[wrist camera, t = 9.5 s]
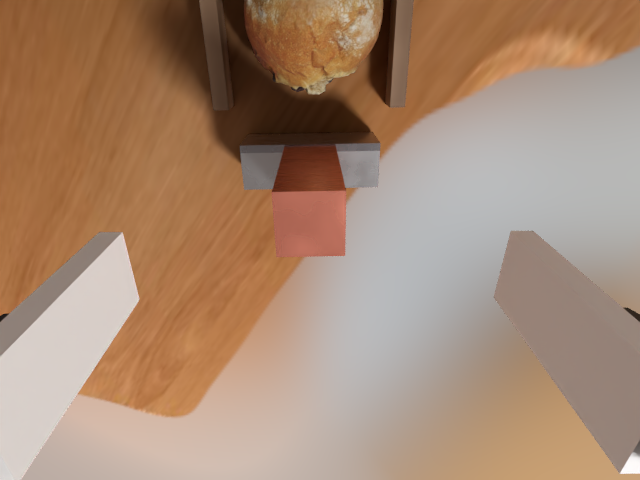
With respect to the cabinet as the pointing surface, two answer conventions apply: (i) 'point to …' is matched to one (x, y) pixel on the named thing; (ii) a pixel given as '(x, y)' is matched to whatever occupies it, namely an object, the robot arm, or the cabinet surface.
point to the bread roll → (312, 38)
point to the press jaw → (310, 184)
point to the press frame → (221, 69)
